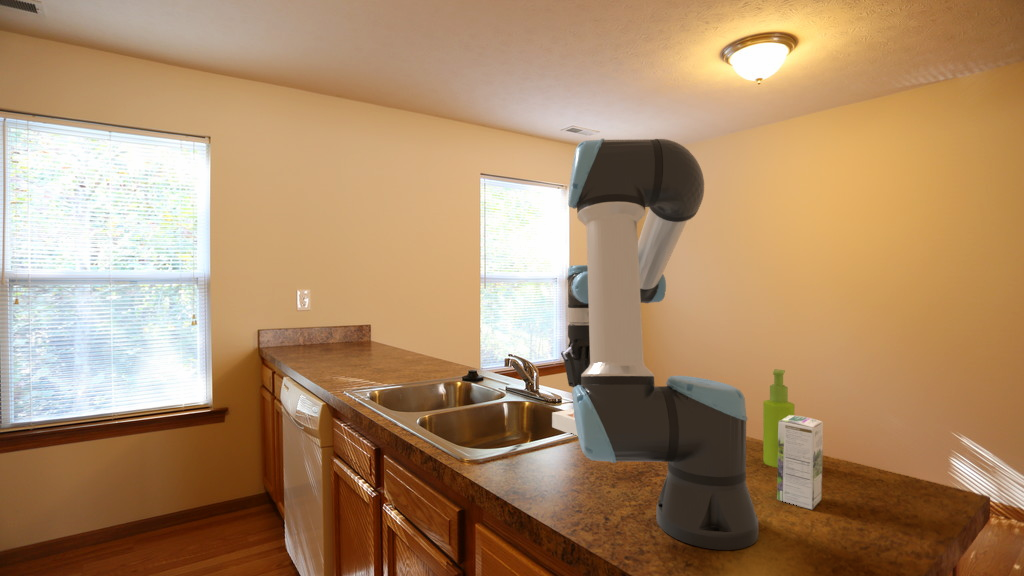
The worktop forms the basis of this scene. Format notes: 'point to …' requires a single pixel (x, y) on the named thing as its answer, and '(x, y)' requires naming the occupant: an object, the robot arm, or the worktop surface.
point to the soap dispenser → (774, 417)
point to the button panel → (564, 421)
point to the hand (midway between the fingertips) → (582, 412)
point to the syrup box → (800, 461)
